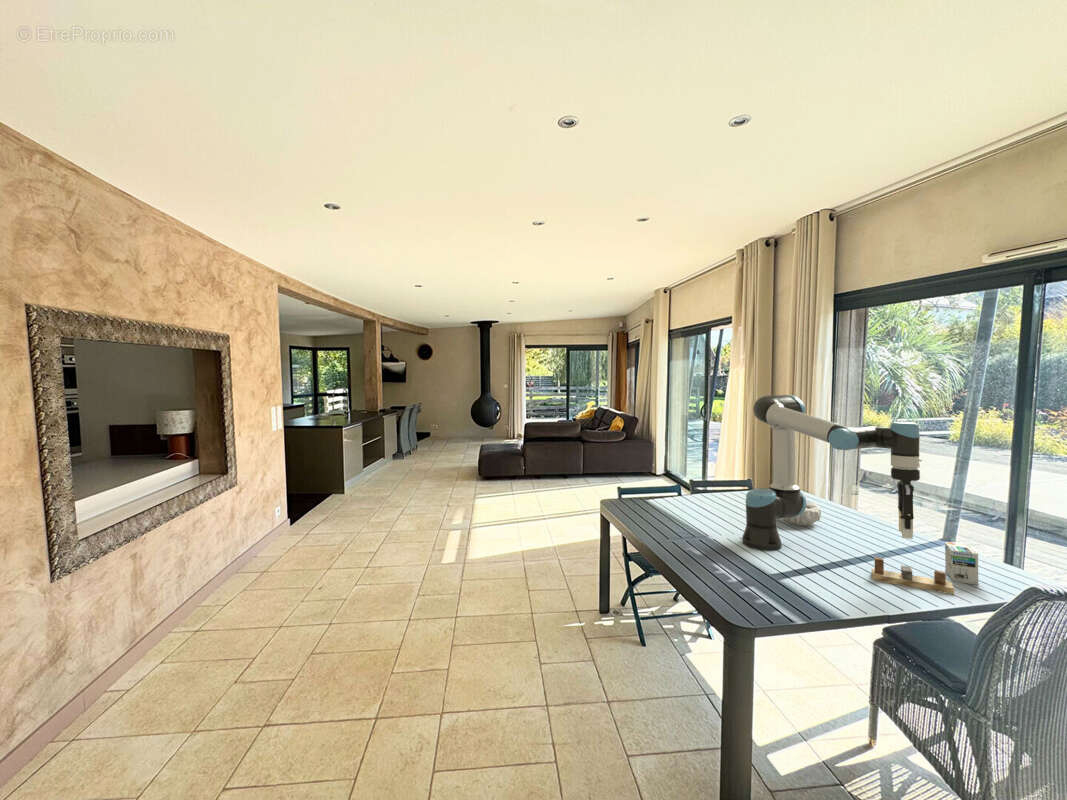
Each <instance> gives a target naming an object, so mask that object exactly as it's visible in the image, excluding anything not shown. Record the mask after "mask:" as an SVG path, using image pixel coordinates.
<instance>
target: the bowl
mask: <svg viewBox="0 0 1067 800" xmlns="http://www.w3.org/2000/svg"><path fill="white" fill-rule="evenodd" d="M821 512H822V511H821V507H820V506H819V505H818V504H817V503H815V502H810V501H806V508H805V510H804V512H803V513H802V514H800V515H798V516H795V517H788V518H781V519H782V520H783V521H785V522H787V523H789V524H793V525H796V524H797V526H811V525H812V524H814V523H816V522H820V521H821V518H822V517H821V514H822V513H821Z"/></svg>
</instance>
